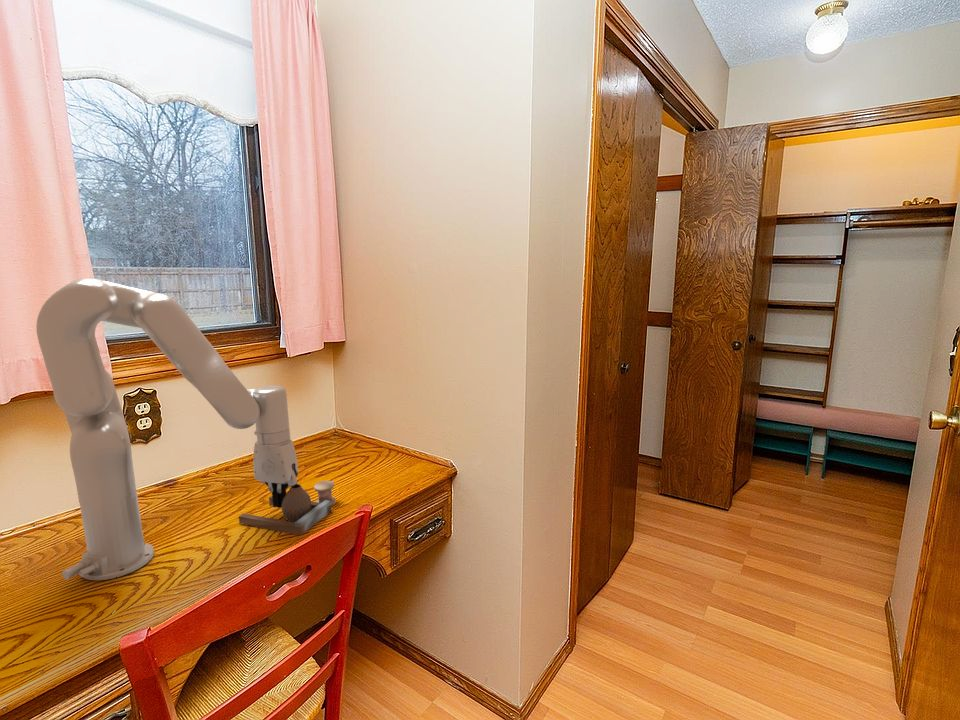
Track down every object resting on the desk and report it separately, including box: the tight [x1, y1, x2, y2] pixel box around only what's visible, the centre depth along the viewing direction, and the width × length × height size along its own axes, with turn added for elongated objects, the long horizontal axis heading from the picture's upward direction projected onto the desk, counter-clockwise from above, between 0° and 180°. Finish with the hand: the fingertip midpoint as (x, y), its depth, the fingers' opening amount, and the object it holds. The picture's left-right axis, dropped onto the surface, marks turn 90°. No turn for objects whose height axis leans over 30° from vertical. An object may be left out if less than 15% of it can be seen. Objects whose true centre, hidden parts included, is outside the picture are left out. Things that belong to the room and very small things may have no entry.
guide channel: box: [238, 495, 332, 536], centre depth 123 cm, size 12×18×3 cm, turn 72°
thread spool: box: [313, 480, 336, 507], centre depth 130 cm, size 5×5×5 cm
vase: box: [281, 483, 312, 523], centre depth 122 cm, size 7×7×9 cm
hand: (280, 505), depth 124 cm, fingers closed
